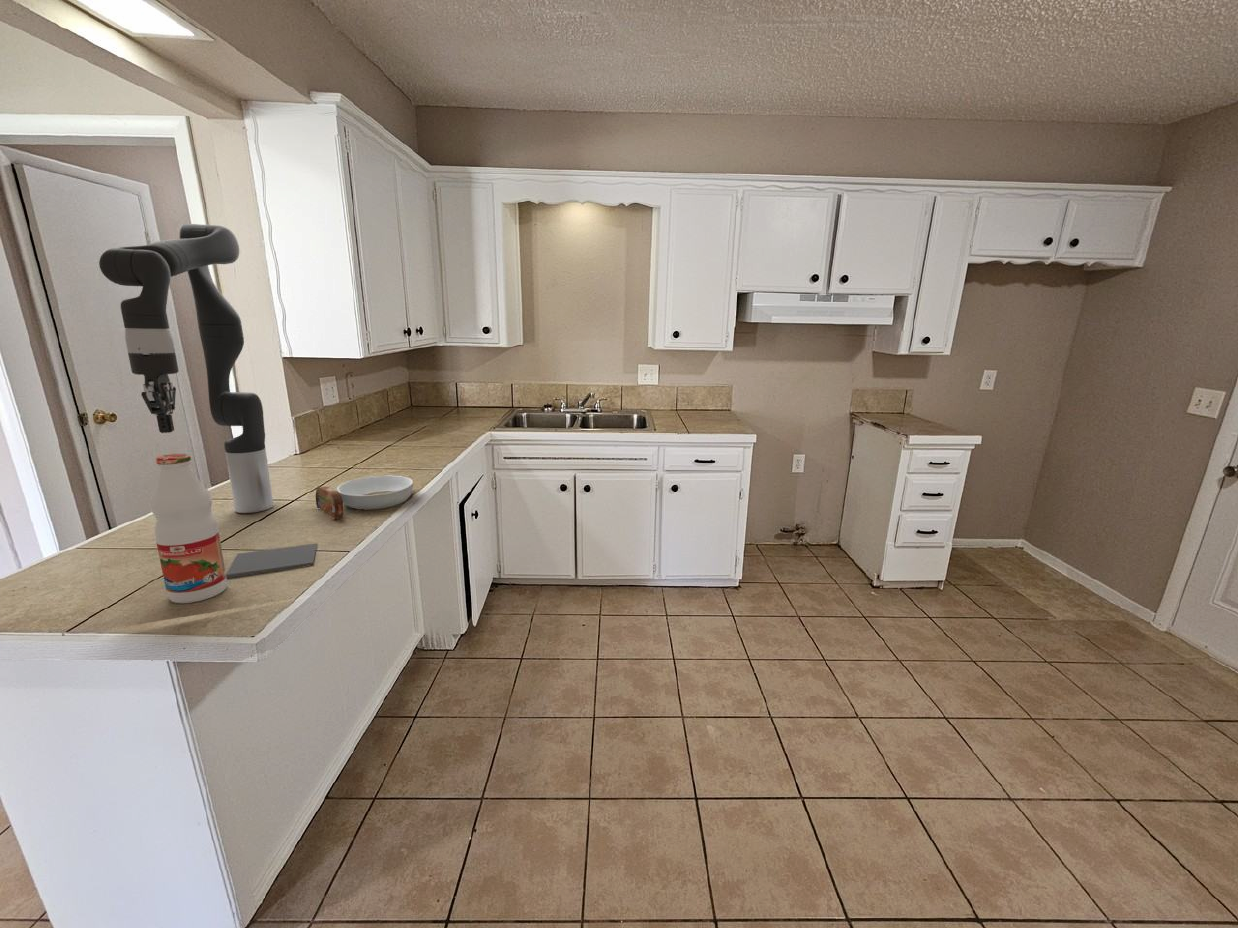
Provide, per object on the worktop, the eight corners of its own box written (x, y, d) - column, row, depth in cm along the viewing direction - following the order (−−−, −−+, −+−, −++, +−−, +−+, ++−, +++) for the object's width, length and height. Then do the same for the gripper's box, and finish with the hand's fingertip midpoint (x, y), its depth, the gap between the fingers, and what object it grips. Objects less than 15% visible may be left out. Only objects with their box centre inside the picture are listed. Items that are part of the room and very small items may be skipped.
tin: (316, 512, 151) (312, 484, 149) (328, 510, 153) (324, 482, 151) (335, 525, 141) (331, 496, 139) (347, 522, 143) (344, 493, 141)
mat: (238, 556, 120) (237, 553, 120) (317, 546, 127) (317, 543, 127) (226, 578, 110) (225, 574, 109) (313, 565, 116) (313, 562, 116)
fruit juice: (237, 580, 109) (215, 450, 102) (212, 602, 100) (186, 461, 93) (186, 583, 107) (160, 451, 100) (156, 606, 98) (125, 462, 91)
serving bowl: (322, 513, 150) (319, 490, 149) (373, 493, 170) (371, 472, 168) (383, 521, 145) (381, 497, 143) (428, 499, 165) (427, 478, 163)
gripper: (140, 349, 114) (155, 428, 118) (115, 352, 102) (133, 438, 106) (183, 350, 117) (197, 426, 121) (164, 352, 105) (179, 436, 109)
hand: (167, 432), depth 113 cm, fingers closed
